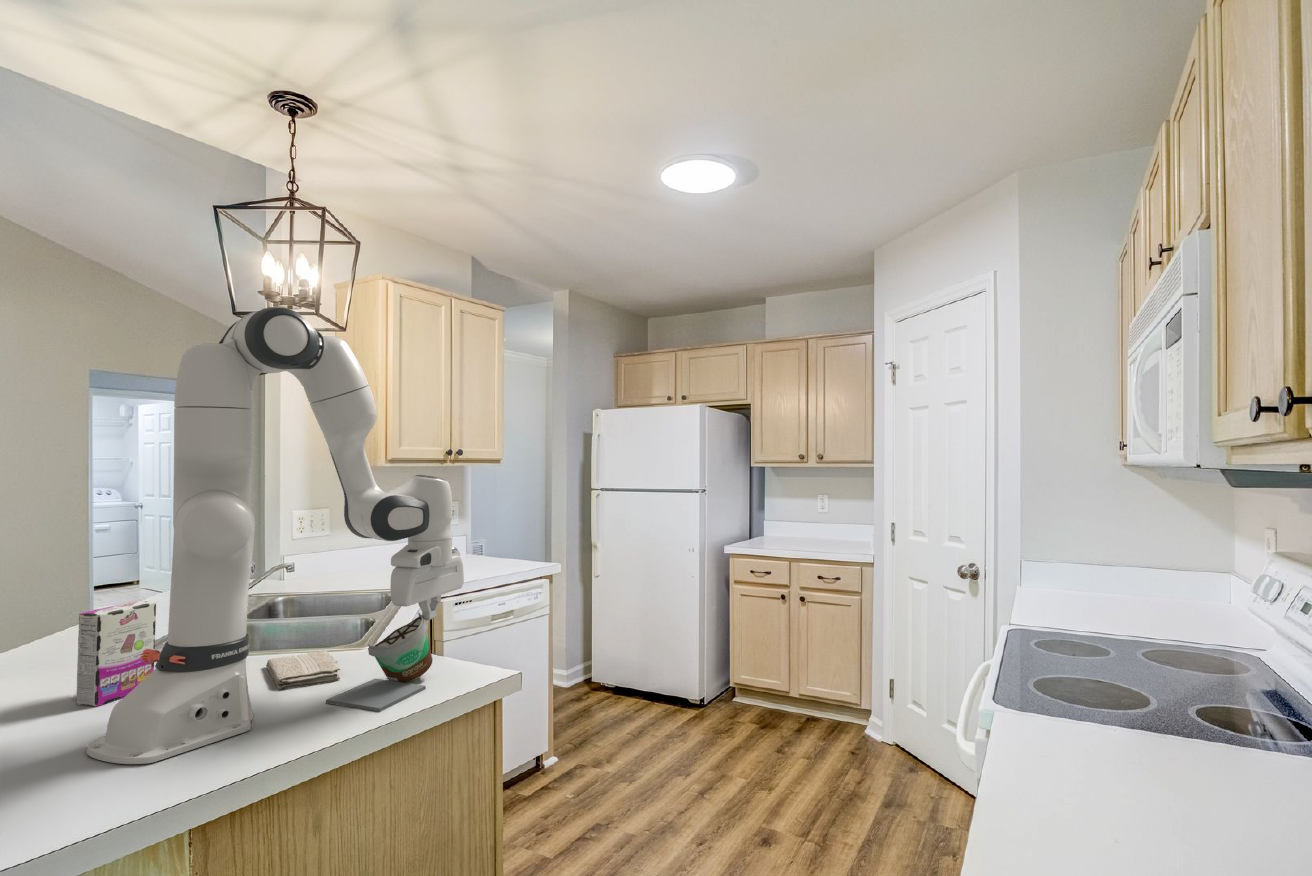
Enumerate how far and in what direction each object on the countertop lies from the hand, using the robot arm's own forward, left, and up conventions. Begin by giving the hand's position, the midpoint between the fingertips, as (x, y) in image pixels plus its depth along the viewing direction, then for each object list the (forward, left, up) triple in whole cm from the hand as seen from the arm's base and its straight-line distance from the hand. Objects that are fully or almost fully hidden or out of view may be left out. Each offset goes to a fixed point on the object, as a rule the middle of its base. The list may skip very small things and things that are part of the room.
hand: (429, 618), depth 141 cm
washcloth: (-8, +24, -13) cm, 29 cm away
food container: (-3, 0, -10) cm, 11 cm away
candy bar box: (-31, +45, -12) cm, 56 cm away
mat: (-13, +1, -12) cm, 18 cm away
